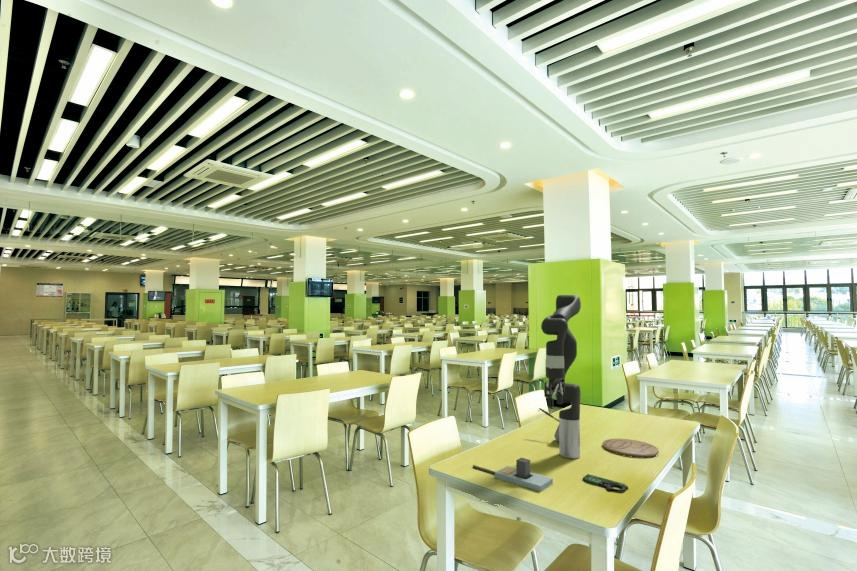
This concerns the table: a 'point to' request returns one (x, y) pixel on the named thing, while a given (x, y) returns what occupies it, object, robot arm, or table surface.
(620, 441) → the trivet
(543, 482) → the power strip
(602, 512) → the table surface
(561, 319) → the robot arm
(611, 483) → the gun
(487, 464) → the table surface
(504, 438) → the table surface
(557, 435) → the coffee pot
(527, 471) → the block
